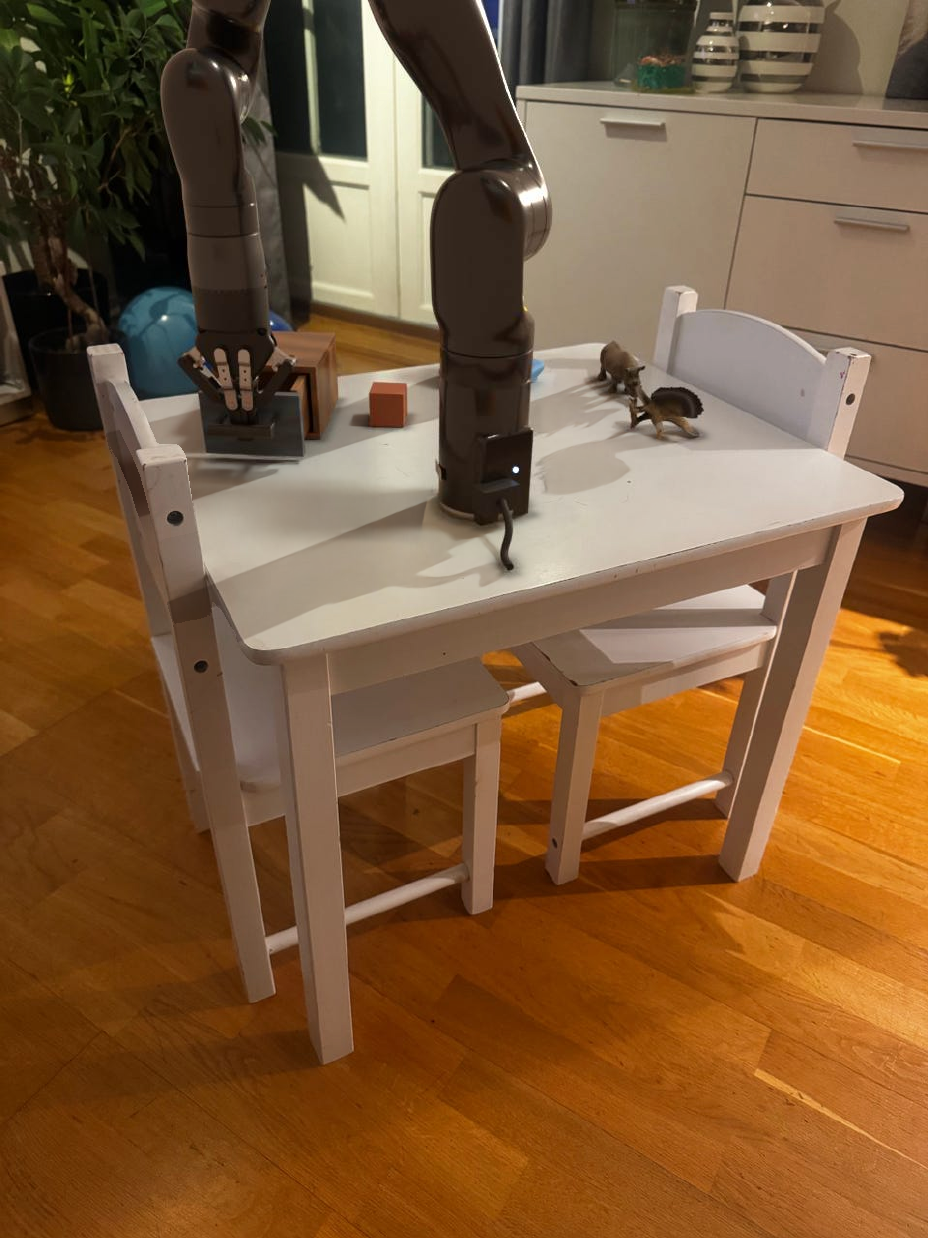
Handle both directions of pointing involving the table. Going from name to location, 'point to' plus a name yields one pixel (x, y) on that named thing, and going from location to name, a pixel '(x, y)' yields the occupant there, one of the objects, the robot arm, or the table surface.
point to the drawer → (263, 421)
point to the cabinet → (312, 371)
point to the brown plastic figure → (667, 408)
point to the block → (388, 404)
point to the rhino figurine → (620, 368)
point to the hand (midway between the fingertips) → (246, 439)
